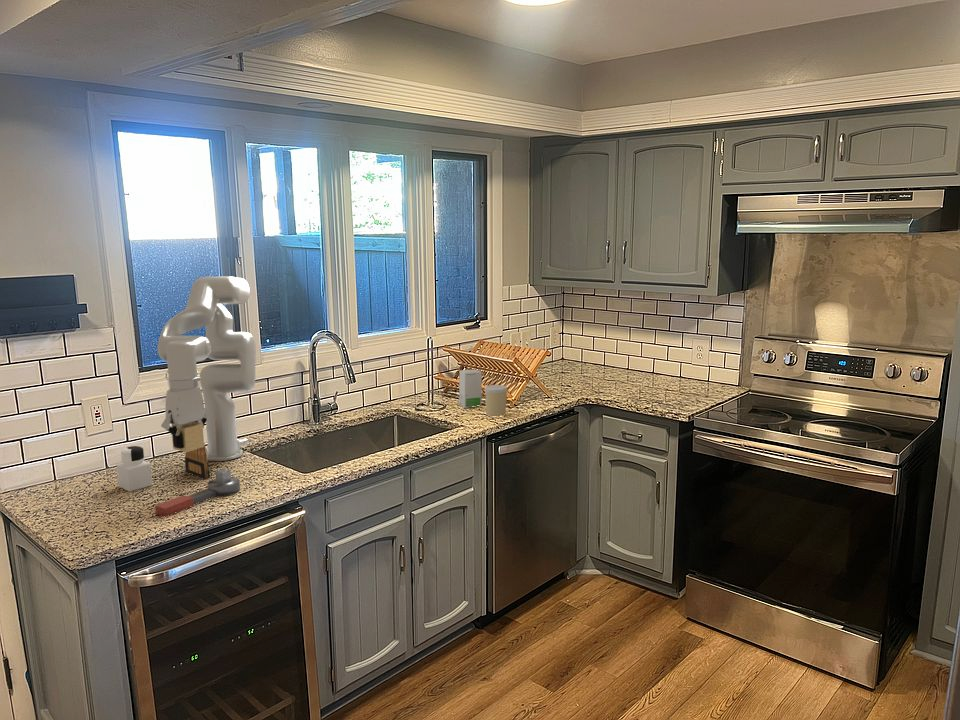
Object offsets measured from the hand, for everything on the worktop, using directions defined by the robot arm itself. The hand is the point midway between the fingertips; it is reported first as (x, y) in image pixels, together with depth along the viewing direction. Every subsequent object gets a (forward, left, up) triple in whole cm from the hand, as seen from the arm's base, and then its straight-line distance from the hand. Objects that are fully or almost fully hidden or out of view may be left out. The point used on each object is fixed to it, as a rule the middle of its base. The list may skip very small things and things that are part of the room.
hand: (188, 444), depth 210 cm
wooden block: (0, 0, -1) cm, 1 cm away
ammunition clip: (-12, -12, -16) cm, 23 cm away
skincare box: (-129, +18, -15) cm, 131 cm away
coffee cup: (-121, +35, -15) cm, 127 cm away
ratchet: (+2, +6, -15) cm, 16 cm away
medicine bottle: (+4, -20, -15) cm, 26 cm away
